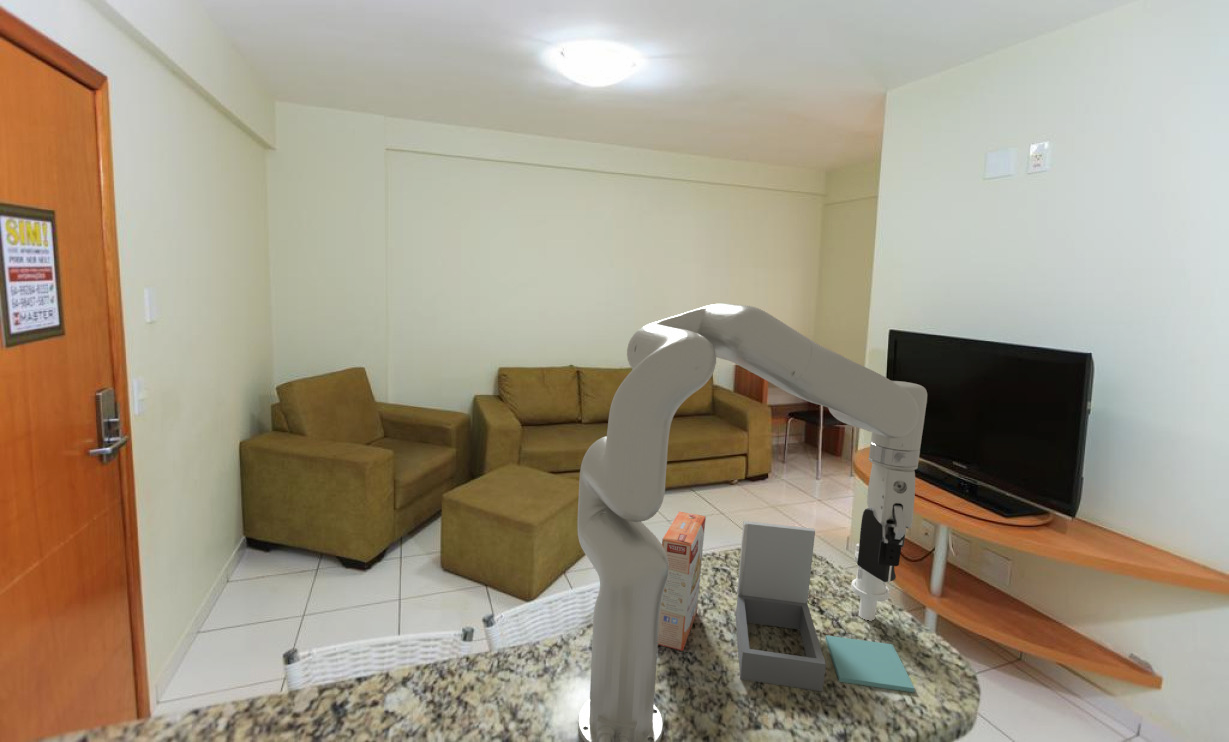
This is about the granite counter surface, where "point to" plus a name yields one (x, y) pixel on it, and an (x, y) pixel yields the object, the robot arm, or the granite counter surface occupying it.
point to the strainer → (868, 591)
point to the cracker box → (681, 579)
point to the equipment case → (777, 603)
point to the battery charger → (873, 547)
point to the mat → (868, 663)
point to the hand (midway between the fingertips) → (881, 552)
